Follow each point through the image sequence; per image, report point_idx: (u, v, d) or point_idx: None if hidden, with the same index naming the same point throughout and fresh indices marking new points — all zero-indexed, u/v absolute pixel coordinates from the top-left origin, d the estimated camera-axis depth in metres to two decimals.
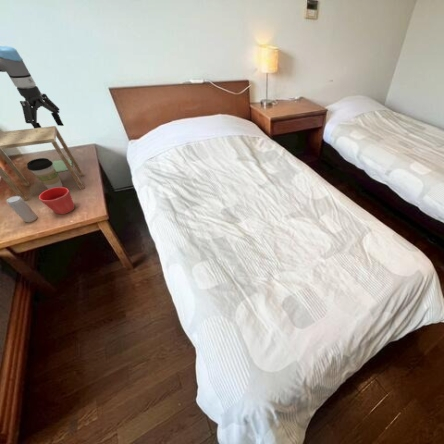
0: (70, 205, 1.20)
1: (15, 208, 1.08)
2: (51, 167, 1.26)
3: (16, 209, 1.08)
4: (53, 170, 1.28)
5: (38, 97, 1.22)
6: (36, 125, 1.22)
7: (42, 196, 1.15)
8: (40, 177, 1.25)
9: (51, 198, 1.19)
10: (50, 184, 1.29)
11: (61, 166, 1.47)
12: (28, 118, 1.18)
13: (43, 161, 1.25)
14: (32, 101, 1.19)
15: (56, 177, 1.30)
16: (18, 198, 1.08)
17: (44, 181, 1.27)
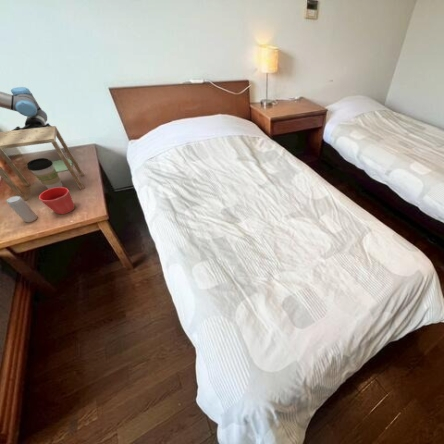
0: (70, 205, 1.20)
1: (15, 208, 1.08)
2: (51, 167, 1.26)
3: (16, 209, 1.08)
4: (53, 170, 1.28)
5: None
6: None
7: (42, 196, 1.15)
8: (40, 177, 1.25)
9: (51, 198, 1.19)
10: (50, 184, 1.29)
11: (61, 166, 1.47)
12: None
13: (43, 161, 1.25)
14: None
15: (56, 177, 1.30)
16: (18, 198, 1.08)
17: (44, 181, 1.27)
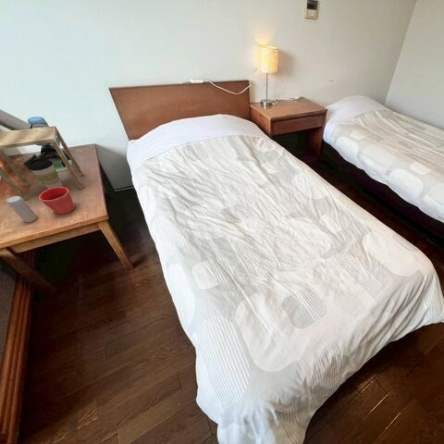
0: (70, 205, 1.20)
1: (15, 208, 1.08)
2: (51, 167, 1.26)
3: (16, 209, 1.08)
4: (53, 170, 1.28)
5: None
6: None
7: (42, 196, 1.15)
8: (40, 177, 1.25)
9: (51, 198, 1.19)
10: (50, 184, 1.29)
11: (61, 166, 1.47)
12: None
13: (43, 161, 1.25)
14: None
15: (56, 177, 1.30)
16: (18, 198, 1.08)
17: (44, 181, 1.27)
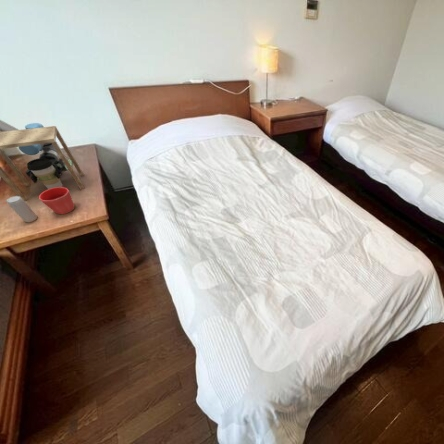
0: (70, 205, 1.20)
1: (15, 208, 1.08)
2: (51, 167, 1.26)
3: (16, 209, 1.08)
4: (53, 170, 1.28)
5: None
6: None
7: (42, 196, 1.15)
8: (40, 177, 1.25)
9: (51, 198, 1.19)
10: (50, 184, 1.29)
11: (61, 166, 1.47)
12: (65, 167, 1.35)
13: (43, 161, 1.25)
14: None
15: (56, 177, 1.30)
16: (18, 198, 1.08)
17: (44, 181, 1.27)
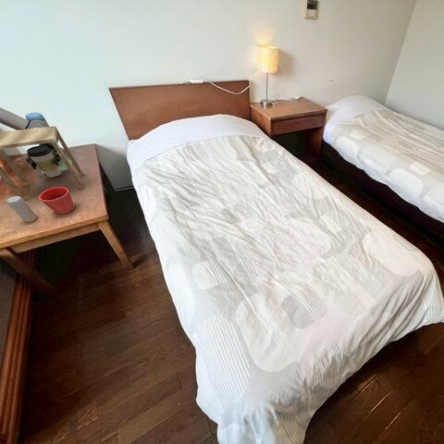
0: (70, 205, 1.20)
1: (15, 208, 1.08)
2: (50, 154, 1.31)
3: (16, 209, 1.08)
4: (52, 158, 1.33)
5: None
6: None
7: (42, 196, 1.15)
8: (39, 164, 1.30)
9: (51, 198, 1.19)
10: (49, 171, 1.34)
11: (61, 166, 1.47)
12: None
13: (42, 148, 1.30)
14: None
15: (55, 164, 1.35)
16: (18, 198, 1.08)
17: (43, 168, 1.32)
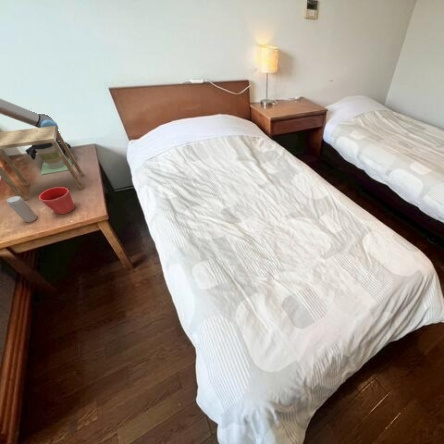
0: (70, 205, 1.20)
1: (15, 208, 1.08)
2: (53, 147, 1.40)
3: (16, 209, 1.08)
4: (55, 150, 1.41)
5: None
6: None
7: (42, 196, 1.15)
8: (43, 156, 1.38)
9: (51, 198, 1.19)
10: (52, 163, 1.42)
11: None
12: None
13: None
14: None
15: (58, 156, 1.43)
16: (18, 198, 1.08)
17: (47, 160, 1.40)
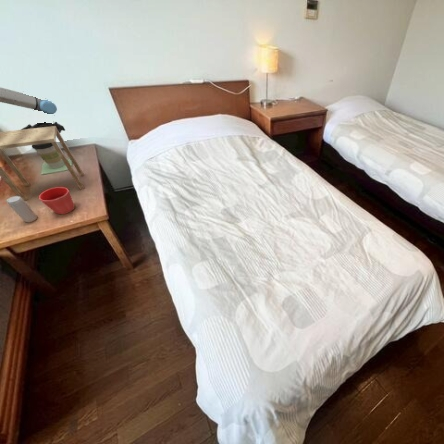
0: (70, 205, 1.20)
1: (15, 208, 1.08)
2: (53, 147, 1.40)
3: (16, 209, 1.08)
4: (55, 150, 1.41)
5: None
6: None
7: (42, 196, 1.15)
8: (43, 156, 1.38)
9: (51, 198, 1.19)
10: (52, 163, 1.42)
11: None
12: None
13: None
14: None
15: (58, 156, 1.43)
16: (18, 198, 1.08)
17: (47, 160, 1.40)
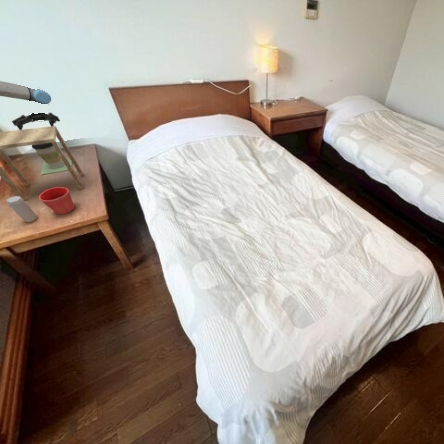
0: (70, 205, 1.20)
1: (15, 208, 1.08)
2: (53, 147, 1.40)
3: (16, 209, 1.08)
4: (55, 150, 1.41)
5: None
6: None
7: (42, 196, 1.15)
8: (43, 156, 1.38)
9: (51, 198, 1.19)
10: (52, 163, 1.42)
11: None
12: None
13: None
14: None
15: (58, 156, 1.43)
16: (18, 198, 1.08)
17: (47, 160, 1.40)
